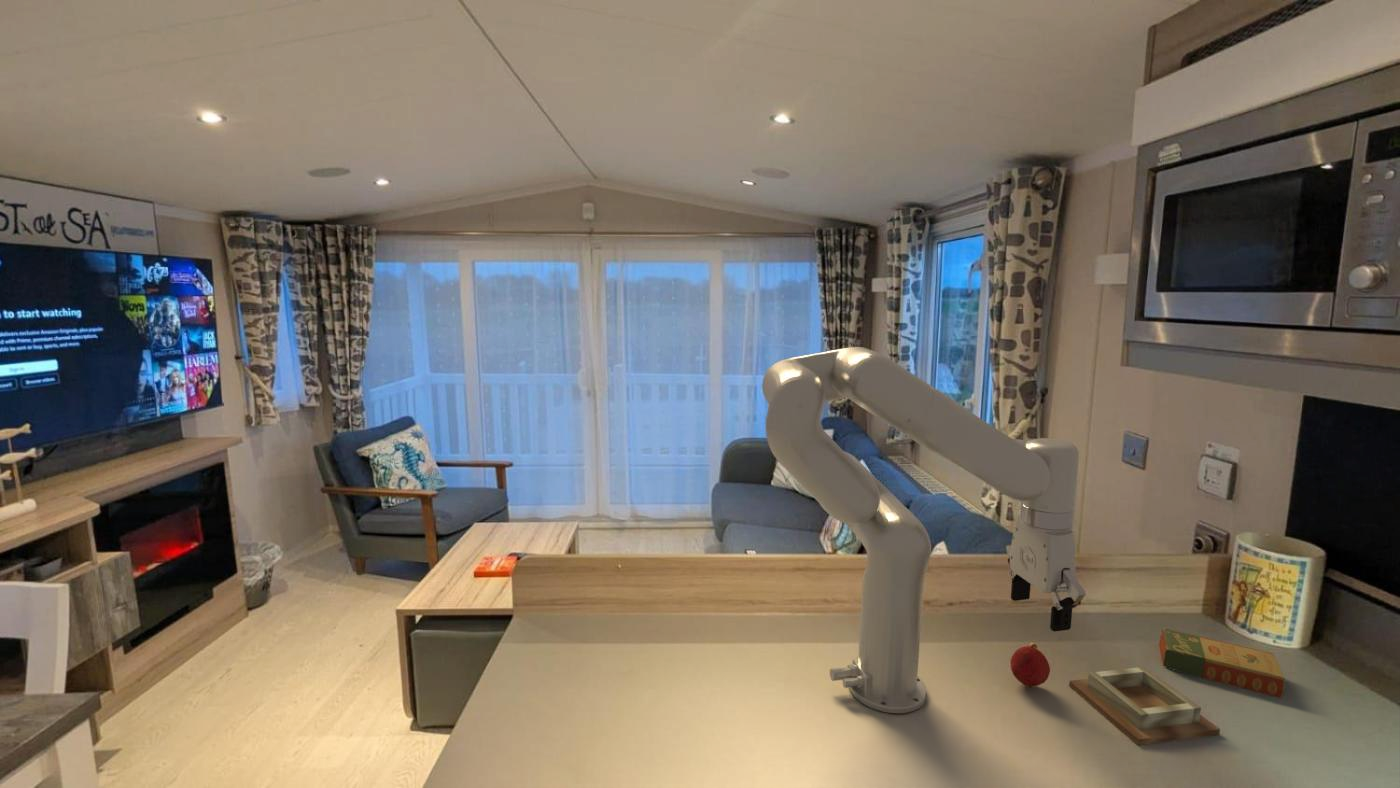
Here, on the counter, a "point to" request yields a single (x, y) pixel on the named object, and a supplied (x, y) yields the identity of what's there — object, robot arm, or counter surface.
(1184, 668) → the carton
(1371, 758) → the counter surface
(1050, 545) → the robot arm
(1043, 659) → the onion
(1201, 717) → the holder
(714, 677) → the counter surface
